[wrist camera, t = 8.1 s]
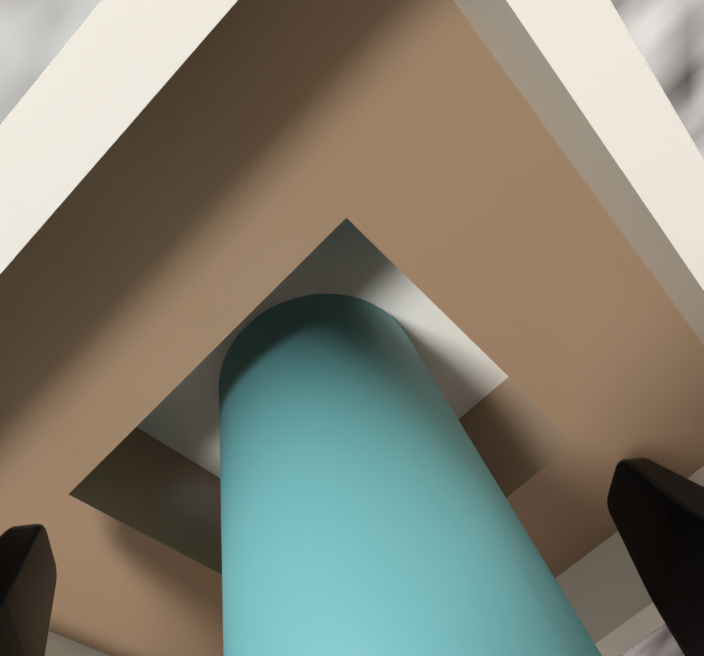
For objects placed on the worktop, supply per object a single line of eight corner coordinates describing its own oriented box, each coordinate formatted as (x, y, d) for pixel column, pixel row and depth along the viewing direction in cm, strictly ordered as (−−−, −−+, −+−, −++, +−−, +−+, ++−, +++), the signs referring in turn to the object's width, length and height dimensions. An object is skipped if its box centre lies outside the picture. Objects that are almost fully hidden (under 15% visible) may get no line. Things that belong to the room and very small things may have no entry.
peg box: (689, 333, 15) (885, 469, 10) (314, 639, 17) (344, 850, 13) (311, -181, 9) (395, -365, 5) (-169, 395, 12) (-409, 629, 7)
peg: (409, 453, 14) (682, 1059, 6) (226, 474, 13) (247, 1208, 5) (423, 287, 12) (853, 842, 4) (210, 300, 11) (206, 1023, 3)
